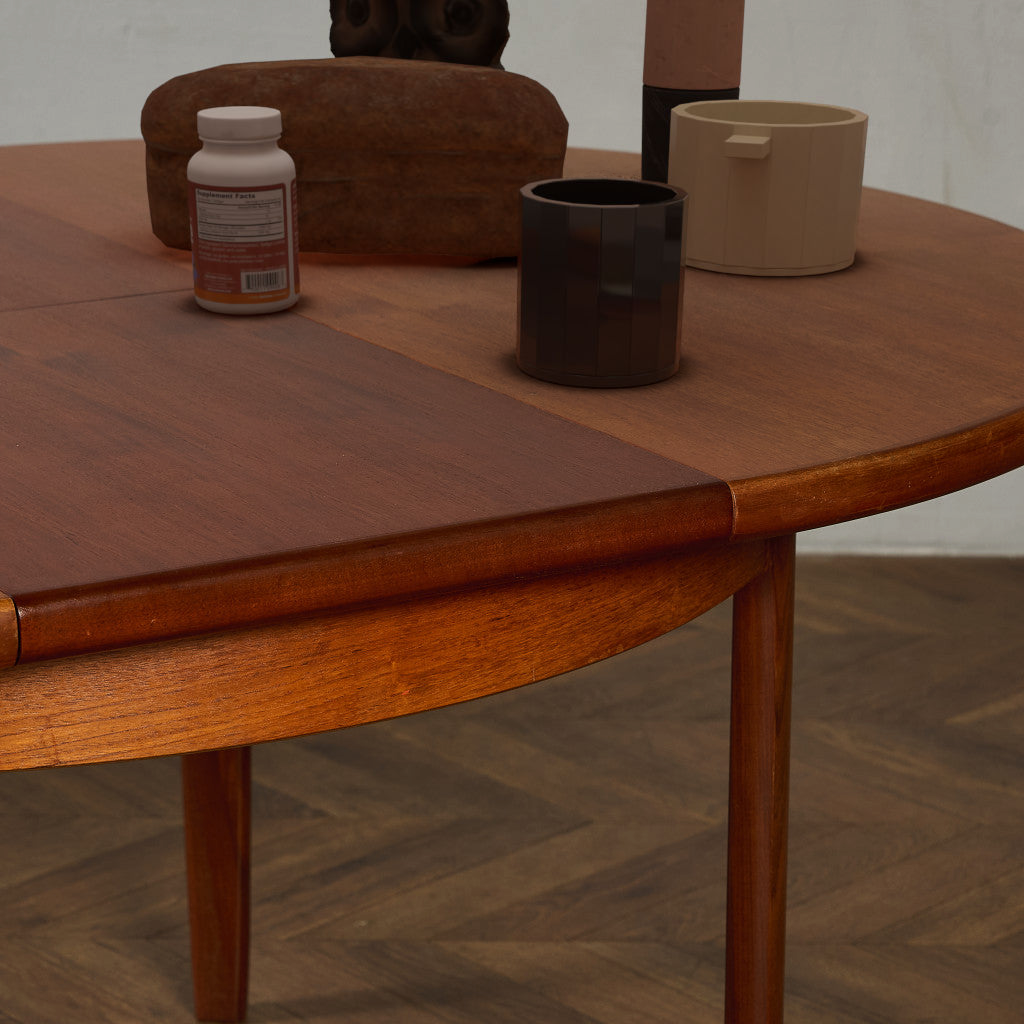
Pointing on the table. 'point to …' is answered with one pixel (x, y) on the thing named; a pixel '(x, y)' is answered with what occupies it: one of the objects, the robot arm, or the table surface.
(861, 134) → the pot
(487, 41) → the owl
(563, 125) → the bread
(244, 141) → the pill bottle
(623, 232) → the cup
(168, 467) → the table surface
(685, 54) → the travel mug
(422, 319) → the table surface
